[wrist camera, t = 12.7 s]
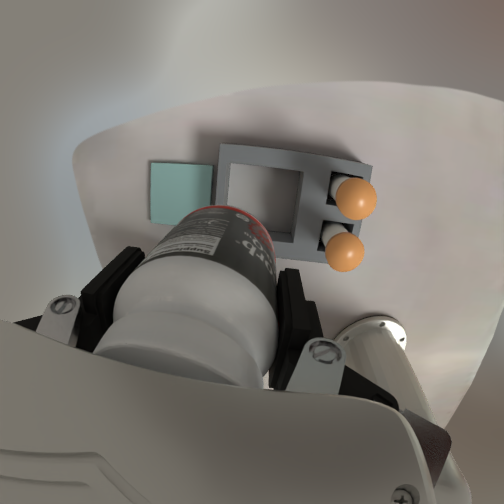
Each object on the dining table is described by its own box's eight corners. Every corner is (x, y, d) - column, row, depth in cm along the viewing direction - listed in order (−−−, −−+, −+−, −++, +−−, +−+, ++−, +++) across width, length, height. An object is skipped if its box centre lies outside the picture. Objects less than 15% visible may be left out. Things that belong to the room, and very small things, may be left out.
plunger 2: (342, 247, 30) (358, 273, 24) (312, 243, 30) (322, 269, 24) (348, 217, 29) (368, 237, 23) (317, 212, 29) (330, 232, 23)
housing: (344, 255, 31) (350, 266, 29) (217, 240, 32) (212, 250, 29) (362, 163, 27) (372, 166, 24) (224, 143, 27) (220, 143, 24)
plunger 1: (351, 204, 28) (371, 222, 22) (320, 199, 29) (334, 216, 22) (357, 173, 27) (380, 183, 21) (325, 167, 27) (341, 175, 21)
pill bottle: (284, 287, 16) (298, 451, 6) (192, 305, 16) (139, 450, 7) (259, 188, 13) (244, 304, 4) (157, 217, 14) (36, 332, 5)
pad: (209, 226, 31) (208, 228, 30) (152, 221, 31) (150, 222, 31) (213, 165, 28) (212, 165, 28) (153, 162, 28) (151, 163, 28)
